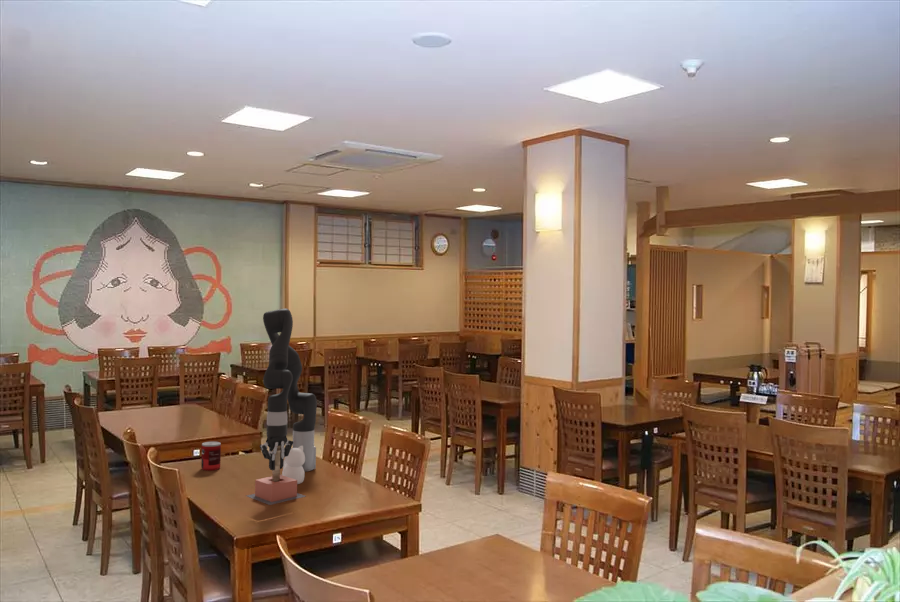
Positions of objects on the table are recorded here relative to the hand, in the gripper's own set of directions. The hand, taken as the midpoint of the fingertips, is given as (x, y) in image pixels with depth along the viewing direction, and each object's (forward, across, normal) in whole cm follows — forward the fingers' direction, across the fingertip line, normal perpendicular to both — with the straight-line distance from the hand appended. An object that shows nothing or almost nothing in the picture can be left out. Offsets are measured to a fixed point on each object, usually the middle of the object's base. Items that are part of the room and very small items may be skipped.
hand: (276, 468), depth 261 cm
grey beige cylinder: (+5, 0, 0) cm, 5 cm away
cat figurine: (+11, -16, -13) cm, 23 cm away
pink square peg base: (+10, 0, 0) cm, 10 cm away
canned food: (+11, -4, -56) cm, 57 cm away
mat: (+11, 0, 0) cm, 11 cm away
